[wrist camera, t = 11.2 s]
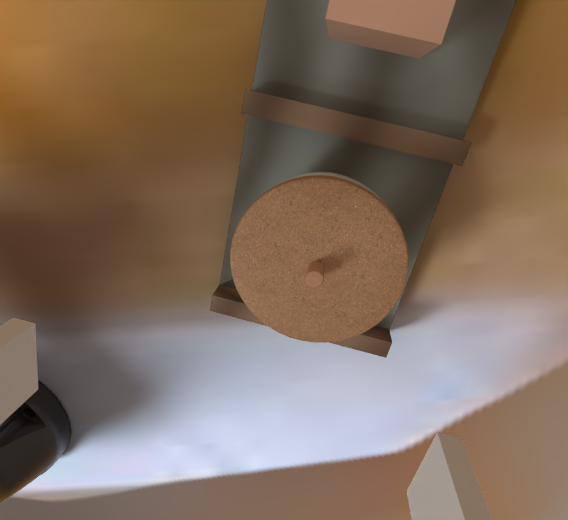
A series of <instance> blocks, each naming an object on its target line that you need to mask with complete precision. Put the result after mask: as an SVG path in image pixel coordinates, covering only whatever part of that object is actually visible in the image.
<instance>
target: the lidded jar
mask: <svg viewBox="0 0 568 520" xmlns="http://www.w3.org/2000/svg"><path fill="white" fill-rule="evenodd" d="M230 265H231V272H232V277H233V280H234V283H235V286H236V289H237V291H238V293H239V295H240V297H241V299H242V300H243V301H244V303H245V304H246V306H247V307H248V308H249V310H250V311H251V312H252V313H253V314H254V315H255V316H256V317H257V318H258V319H259V320H261V321H262V322H263V323H264V324H266V325H267V326H268V327H270V328H272V329H274V330H275V331H277V332H279V333H281V334H284V335H286V336H288V337H291V338H295V339H298V340H302V341H309V342H334V341H341V340H345V339H348V338H352V337H355V336H357V335H359V334H362V333H364V332H366V331H367V330H369V329H371V328H372V327H374V326H375V325H377V324H378V323H379V322H380V321H381V320H383V319H384V318H385V317H386V316H387V315H388V314H389V312H390V311H391V310H392V309H393V308H394V306H395V305H396V303H397V302H398V300H399V298H400V297H401V294H402V292H403V289H404V287H405V284H406V280H407V275H408V269H409V255H408V248H407V243H406V240H405V237H404V234H403V231H402V228H401V227H400V225H399V223H398V221H397V219H396V217H395V216H394V214H393V213H392V212H391V210H390V209H389V208H388V207H387V205H386V204H385V203H384V202H383V201H382V200H381V199H380V197H379V196H377V195H376V194H375V193H374V192H373V191H372V190H371V189H370V188H368V187H366V186H365V185H363V184H362V183H360V182H359V181H357V180H354V179H352V178H350V177H347V176H344V175H340V174H336V173H330V172H311V173H305V174H301V175H297V176H294V177H291V178H289V179H286V180H284V181H282V182H280V183H279V184H277V185H276V186H274V187H272V188H271V189H269V190H268V191H266V192H264V193H263V194H262V195H261V196H260V197H259V198H258V199H257V200H255V201H254V202H253V203H252V204H251V206H250V207H249V208H248V209H247V211H246V212H245V213H244V214H243V216H242V218H241V220H240V221H239V223H238V225H237V227H236V230H235V233H234V235H233V238H232V244H231V250H230Z"/></svg>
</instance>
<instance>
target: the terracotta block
mask: <svg viewBox="0 0 568 520" xmlns="http://www.w3.org/2000/svg"><path fill="white" fill-rule="evenodd" d="M455 2H456V0H329V5H328V9H327V14H326V18H325V19H326V24H327V30H328V35H329V38H330V39H334V40H338V41H343V42H347V43H352V44H356V45H360V46H365V47H369V48H374V49H378V50H383V51H387V52H391V53H396V54H400V55H405V56H409V57H413V58H418V59H419V58H421V57H423V56H424V55H426V54H427V53H429V52H430V51H432V50H433V49H435V48H436V47H438V46H440V45H441V44H442V41H443V38H444V35H445V32H446V29H447V26H448V23H449V20H450V17H451V14H452V11H453V8H454V5H455Z"/></svg>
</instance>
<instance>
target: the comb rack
mask: <svg viewBox="0 0 568 520" xmlns="http://www.w3.org/2000/svg"><path fill="white" fill-rule="evenodd" d="M515 3H516V0H456V2H455V5H454V8H453V11H452V14H451V17H450V20H449V23H448V26H447V29H446V32H445V35H444V38H443V41H442V44H441V45H440V46H438V47H436V48H435V49H433V50H432V51H430V52H429V53H427V54H426V55H424V56H423V57H421V58H419V59H418V58H413V57H409V56H405V55H400V54H396V53H391V52H387V51H383V50H378V49H374V48H369V47H365V46H360V45H356V44H352V43H347V42H343V41H338V40H334V39H330V38H329V35H328V30H327V24H326V19H325V18H326V14H327V9H328V5H329V0H267V3H266V9H265V15H264V21H263V27H262V33H261V39H260V45H259V51H258V57H257V63H256V69H255V75H254V81H253V87H252V90H247V89H245V94H244V100H243V107H242V113H243V114H247V115H248V117H247V123H246V129H245V135H244V141H243V147H242V153H241V159H240V165H239V171H238V177H237V183H236V190H235V196H234V202H233V208H232V214H231V220H230V226H229V232H228V238H227V244H226V250H225V256H224V262H223V268H222V274H221V280H220V285H219V286H218V288H217V289H216V291H215V292H214V294H213V295H212V301H211V307H210V311H213V312H217V313H221V314H225V315H228V316H232V317H236V318H240V319H243V320H247V321H251V322H255V323H258V324H262V325H266V324H264V323H263V322H262V321H261V320H259V319H258V318H257V317H256V316H255V315H254V314H253V313H252V312H251V311H250V310H249V308H248V307H247V306H246V304H245V303H244V301H243V300H242V299H241V297H240V295H239V293H238V291H237V289H236V286H235V283H234V280H233V277H232V272H231V265H230V250H231V244H232V238H233V235H234V233H235V230H236V227H237V225H238V223H239V221H240V220H241V218H242V216H243V214H244V213H245V212H246V211H247V209H248V208H249V207H250V206H251V204H252V203H253V202H254V201H255V200H257V199H258V198H259V197H260V196H261V195H262V194H263V193H264V192H266V191H268V190H269V189H271V188H272V187H274V186H276V185H277V184H279V183H280V182H282V181H284V180H286V179H289V178H291V177H294V176H297V175H301V174H305V173H311V172H330V173H336V174H340V175H344V176H347V177H350V178H352V179H354V180H357V181H359V182H360V183H362V184H363V185H365V186H366V187H368V188H370V189H371V190H372V191H373V192H374V193H375V194H376V195H377V196H379V197H380V199H381V200H382V201H383V202H384V203H385V204H386V205H387V207H388V208H389V209H390V210H391V212H392V213H393V214H394V216H395V217H396V219H397V221H398V223H399V225H400V227H401V228H402V231H403V234H404V237H405V240H406V243H407V248H408V255H409V269H408V275H407V280H406V284H407V282H408V279H409V277H410V274H411V272H412V269H413V266H414V264H415V261H416V259H417V256H418V253H419V251H420V248H421V246H422V243H423V241H424V238H425V235H426V233H427V230H428V228H429V225H430V222H431V220H432V217H433V215H434V212H435V210H436V207H437V204H438V202H439V199H440V197H441V194H442V192H443V189H444V186H445V184H446V181H447V179H448V176H449V173H450V171H451V168H452V166H453V164H456V165H461V166H462V165H463V163H464V160H465V158H466V155H467V153H468V150H469V148H470V145H471V142H468V141H464V140H463V137H464V135H465V132H466V130H467V127H468V124H469V122H470V119H471V117H472V114H473V111H474V109H475V106H476V104H477V101H478V99H479V96H480V93H481V91H482V88H483V86H484V83H485V81H486V78H487V75H488V73H489V70H490V68H491V65H492V62H493V60H494V57H495V55H496V52H497V50H498V47H499V44H500V42H501V39H502V37H503V34H504V31H505V29H506V26H507V24H508V21H509V19H510V16H511V13H512V11H513V8H514V6H515ZM406 284H405V287H406ZM405 287H404V289H403V292H404V290H405ZM403 292H402V294H401V297H402V295H403ZM401 297H400V298H399V300H398V302H397V303H396V305H395V306H394V308H393V309H392V310H391V311H390V312H389V314H388V315H387V316H386V317H385V318H384V319H383V320H381V321H380V322H379V323H378V324H377V325H375V326H374V327H372V328H371V329H369V330H367V331H366V332H364V333H362V334H359V335H357V336H355V337H352V338H348V339H345V340H341V341H334V342H330V343H333V344H337V345H341V346H345V347H348V348H352V349H356V350H360V351H363V352H367V353H371V354H375V355H378V356H382V357H386V356H387V354H388V351H389V349H390V346H391V344H392V340H391V336H390V331H389V328H390V326H391V323H392V321H393V318H394V315H395V313H396V310H397V308H398V305H399V302H400V300H401ZM266 326H267V325H266Z"/></svg>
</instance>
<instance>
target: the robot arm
mask: <svg viewBox="0 0 568 520" xmlns="http://www.w3.org/2000/svg"><path fill="white" fill-rule="evenodd" d="M70 434H71V432H70V425H69V421H68V418H67V415H66V413H65V411H64V409H63V408H62V406H61V405H60V403H59V402H58V400H57V399H56V398H55V397H54V396H53V394H52V393H51V392H50V391H49V390H48V389H47V388H45V387H44V386H43V385H42V384H41V383H39V382H38V369H37V344H36V323H32V322H29V321H25V320H21V319H18V318H14V317H13V318H11V319H10V320H8V321H7V322H5V323H3V324H2V325H0V504H1V503H2V502H3V501H5V500H6V499H8V498H9V497H10V496H12V495H13V494H15V493H16V492H18V491H19V490H20V489H22V488H23V487H25V486H26V485H27V484H29V483H30V482H31V481H33V480H34V479H36V478H37V477H38V476H39V475H41V474H43V473H44V472H46V471H47V470H48V469H49V468H51V467H52V466H53V465H54V463H55V462H56V461H57V460H58V459H59V457H60V456H61V455H62V454H63V452H64V451H65V450H66V448H67V446H68V444H69V441H70ZM407 496H408V501H409V506H410V512H411V517H412V520H493V519H492V517H491V514H490V511H489V509H488V506H487V504H486V501H485V498H484V496H483V493H482V491H481V488H480V485H479V483H478V481H477V478H476V475H475V472H474V470H473V467H472V464H471V462H470V459H469V457H468V454H467V452H466V449H465V446H464V444H463V441H462V439H460V438H456V437H453V436H449V435H445V434H442V433H438V432H437V434H436V436H435V438H434V440H433V442H432V444H431V446H430V447H429V449H428V451H427V453H426V455H425V457H424V459H423V461H422V463H421V465H420V467H419V469H418V471H417V473H416V474H415V476H414V479H413V480H412V482H411V484H410V486H409V488H408V490H407Z"/></svg>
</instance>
